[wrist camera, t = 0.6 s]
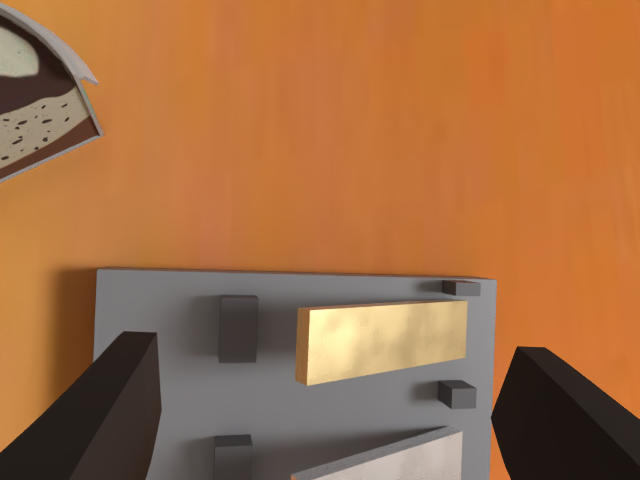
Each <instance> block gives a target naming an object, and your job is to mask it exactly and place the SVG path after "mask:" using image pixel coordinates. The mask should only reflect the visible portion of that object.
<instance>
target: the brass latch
mask: <svg viewBox="0 0 640 480" xmlns="http://www.w3.org/2000/svg"><path fill="white" fill-rule="evenodd" d="M467 303H468V301H467V300H460V299H440V300H423V301H405V302H388V303H371V304H354V305H336V306H319V307H302V308H298V313H297V338H296V362H295V381H297V382H299V383H302V384H304V385H306V386H309V385H314V384H320V383H326V382H331V381H337V380H343V379H348V378H354V377H359V376H365V375H371V374H376V373H382V372H388V371H393V370H399V369H404V368H410V367H416V366H421V365H427V364H433V363H438V362H444V361H449V360H455V359H461V358H465V356H466V329H467Z"/></svg>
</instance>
